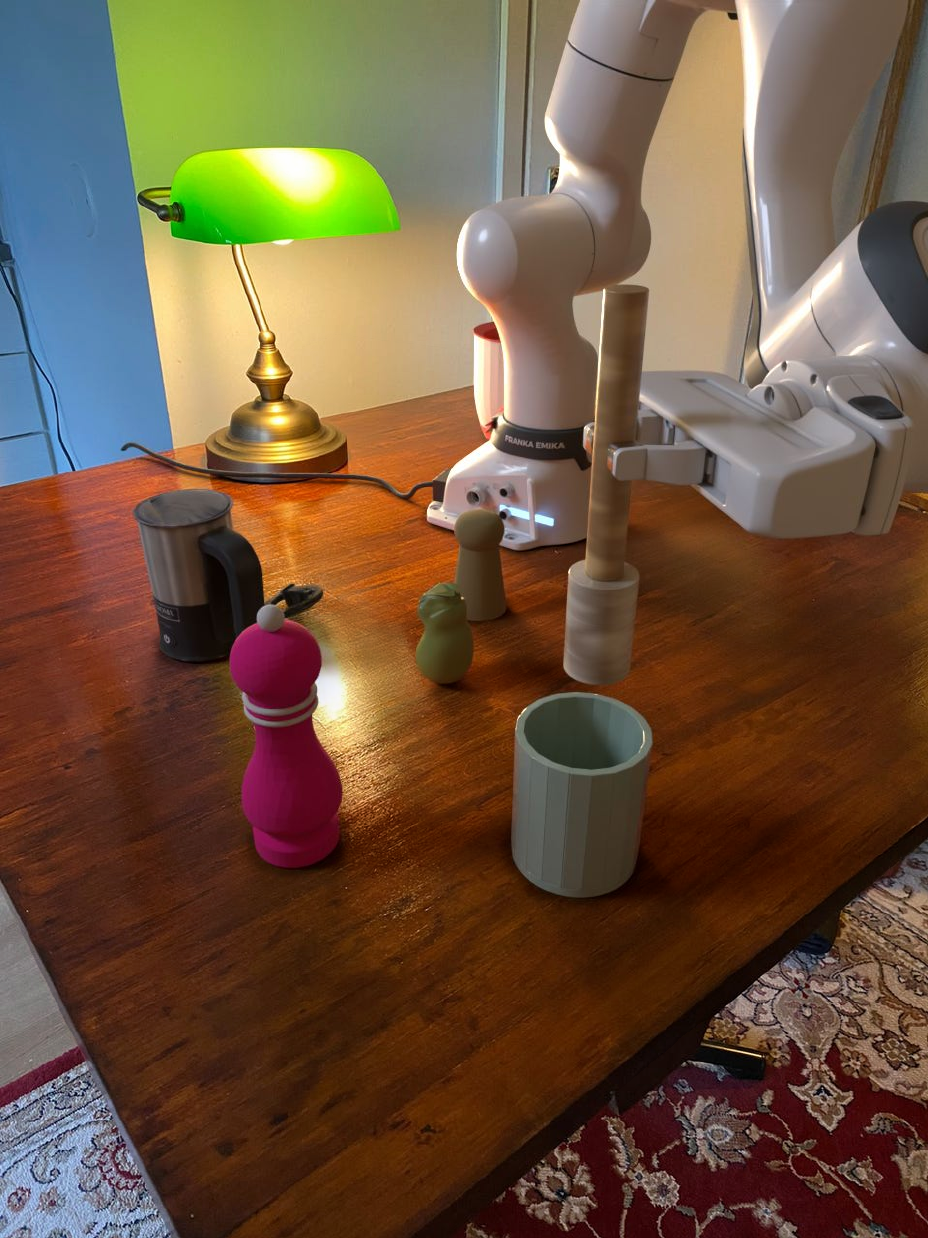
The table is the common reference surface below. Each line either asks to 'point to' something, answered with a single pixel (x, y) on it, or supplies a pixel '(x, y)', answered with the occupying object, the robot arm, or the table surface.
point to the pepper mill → (285, 743)
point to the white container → (488, 373)
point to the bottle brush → (609, 504)
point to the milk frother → (205, 574)
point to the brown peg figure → (480, 564)
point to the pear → (444, 635)
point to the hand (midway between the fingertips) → (598, 451)
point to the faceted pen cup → (579, 792)
